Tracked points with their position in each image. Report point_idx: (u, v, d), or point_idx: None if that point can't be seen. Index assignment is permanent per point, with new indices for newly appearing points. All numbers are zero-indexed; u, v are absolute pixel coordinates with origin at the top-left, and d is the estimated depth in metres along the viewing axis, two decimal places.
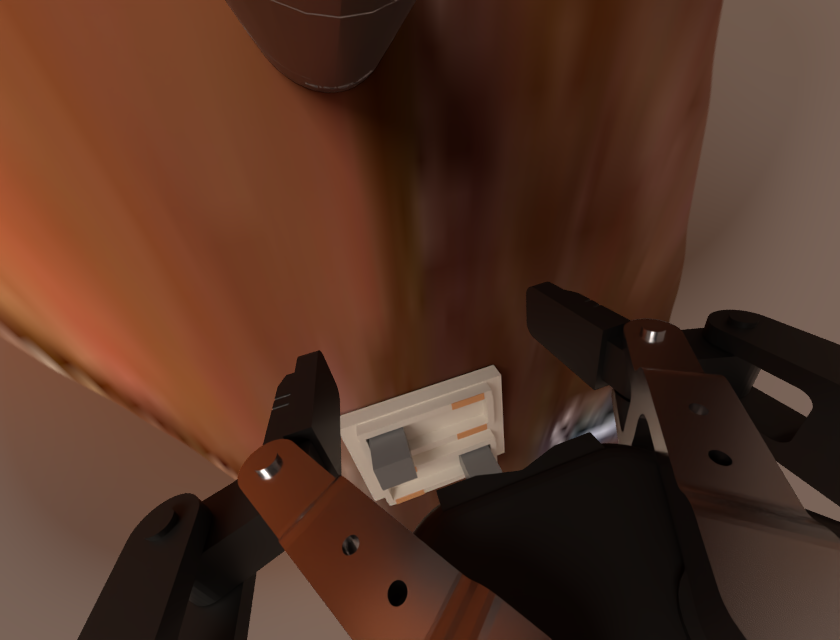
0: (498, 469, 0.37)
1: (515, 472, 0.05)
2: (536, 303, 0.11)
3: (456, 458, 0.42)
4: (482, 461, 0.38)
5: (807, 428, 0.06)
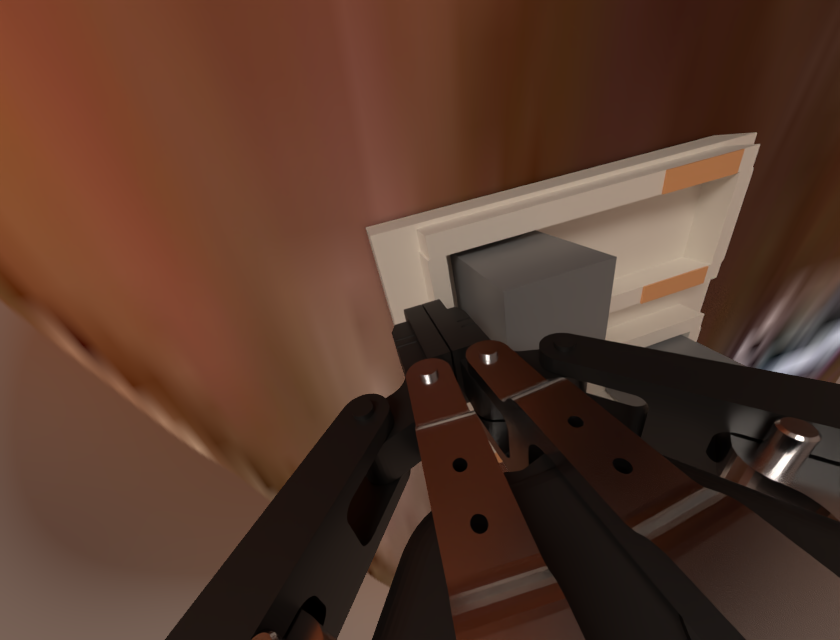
0: None
1: (515, 472, 0.05)
2: None
3: None
4: None
5: (648, 424, 0.07)
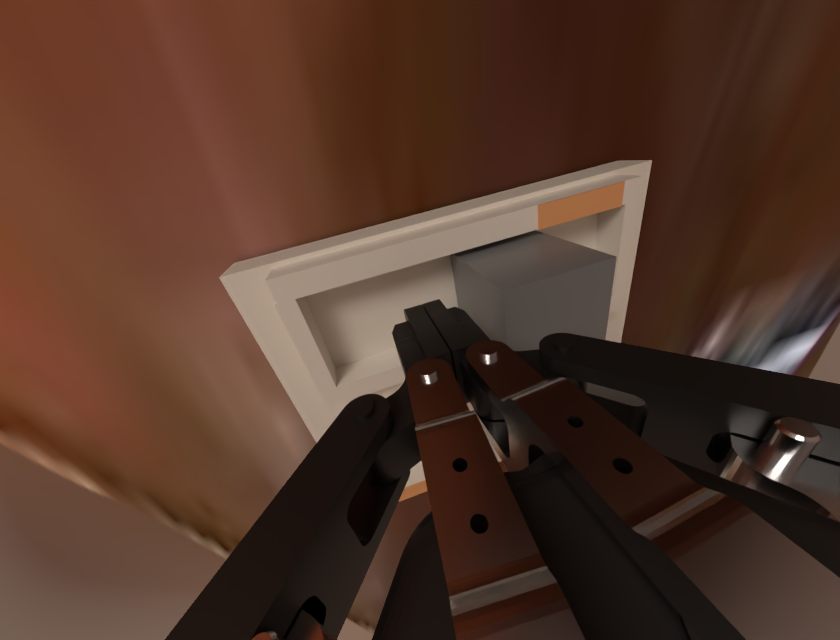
0: None
1: (515, 472, 0.05)
2: None
3: None
4: (594, 394, 0.16)
5: (649, 424, 0.07)
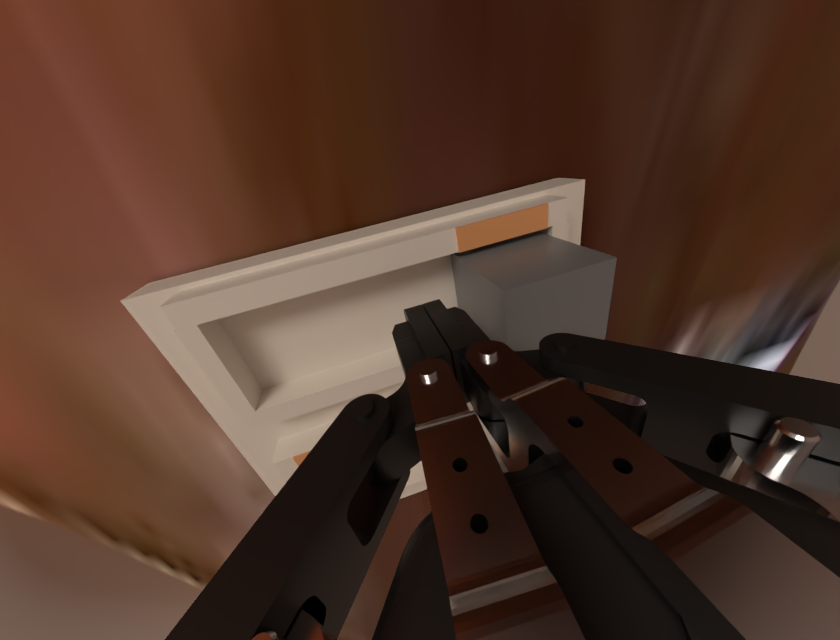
0: None
1: (515, 472, 0.05)
2: None
3: None
4: None
5: (649, 424, 0.07)
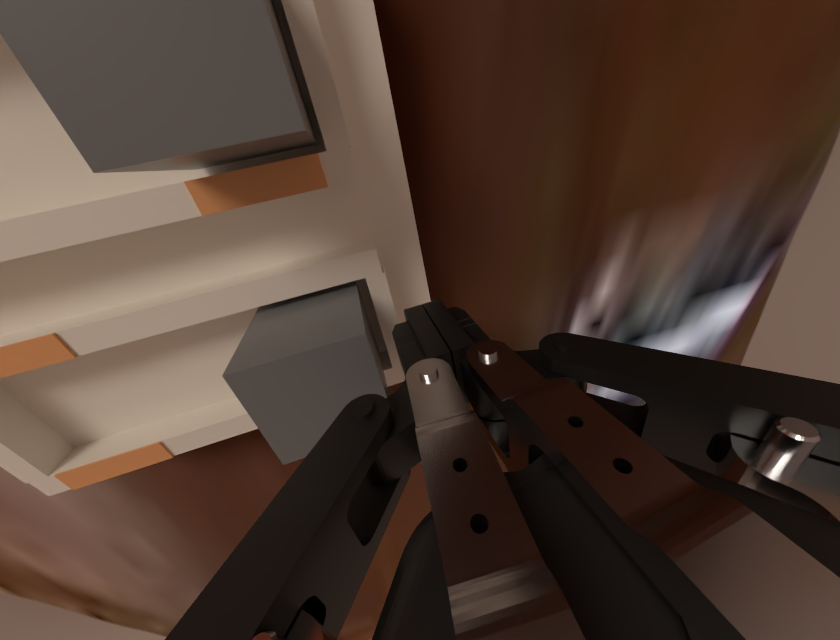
0: (353, 331, 0.09)
1: (515, 472, 0.05)
2: None
3: None
4: (311, 318, 0.10)
5: (649, 424, 0.07)
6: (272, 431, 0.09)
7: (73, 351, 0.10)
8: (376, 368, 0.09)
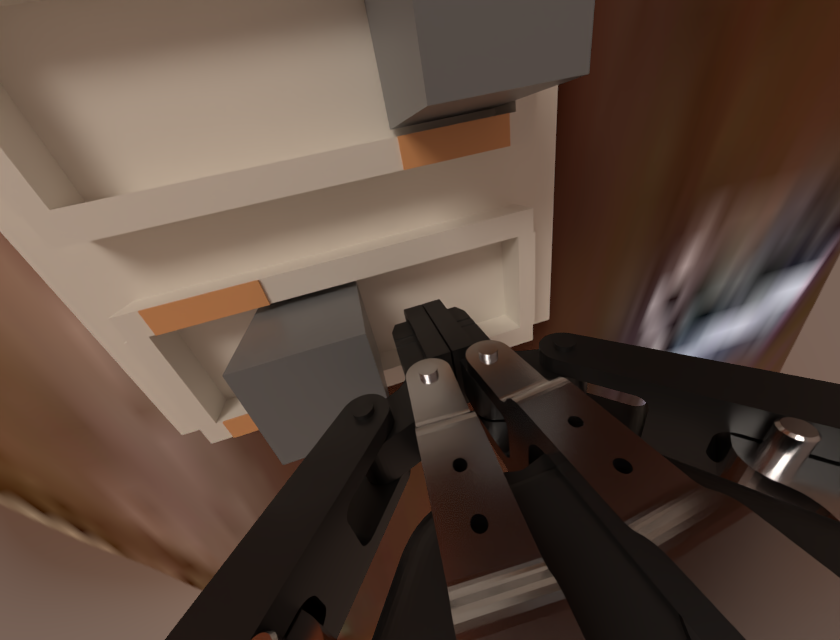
0: (353, 331, 0.09)
1: (515, 473, 0.05)
2: None
3: None
4: (311, 318, 0.10)
5: (649, 424, 0.07)
6: (271, 431, 0.09)
7: (268, 298, 0.11)
8: (376, 368, 0.09)
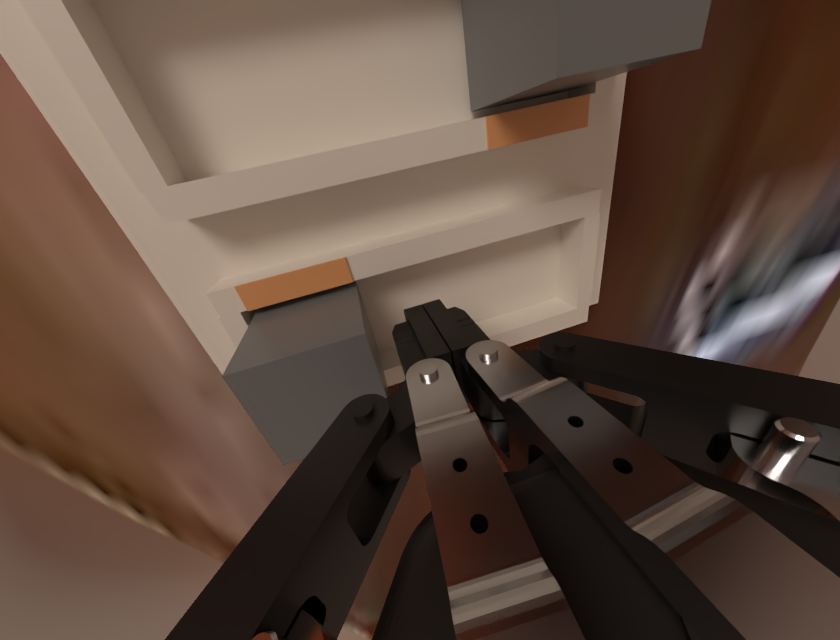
0: (353, 331, 0.09)
1: (515, 472, 0.05)
2: None
3: (477, 293, 0.15)
4: (311, 318, 0.10)
5: (648, 424, 0.07)
6: (272, 431, 0.09)
7: (352, 276, 0.11)
8: (376, 368, 0.09)
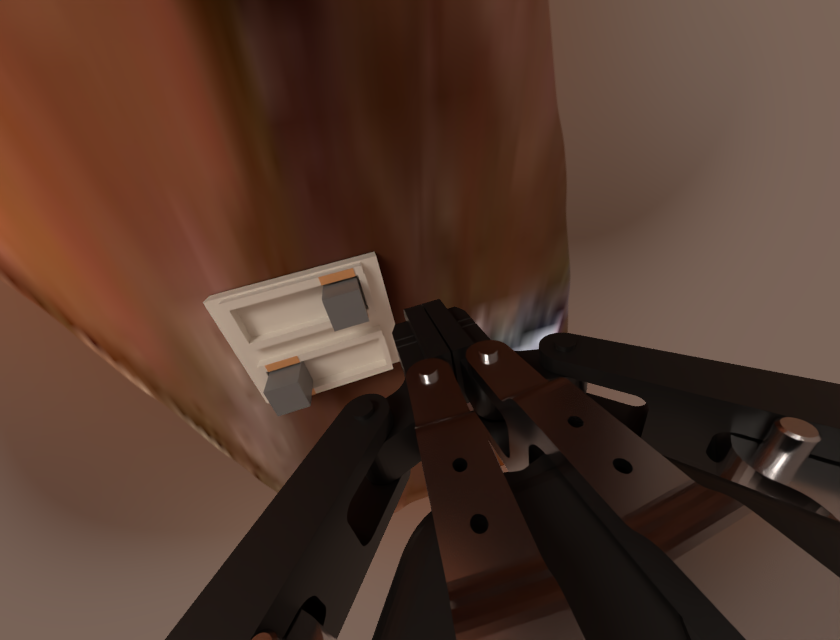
0: (295, 381, 0.35)
1: (515, 472, 0.05)
2: None
3: (350, 359, 0.41)
4: (285, 375, 0.36)
5: (649, 424, 0.07)
6: (274, 406, 0.35)
7: (299, 360, 0.38)
8: (302, 390, 0.35)
